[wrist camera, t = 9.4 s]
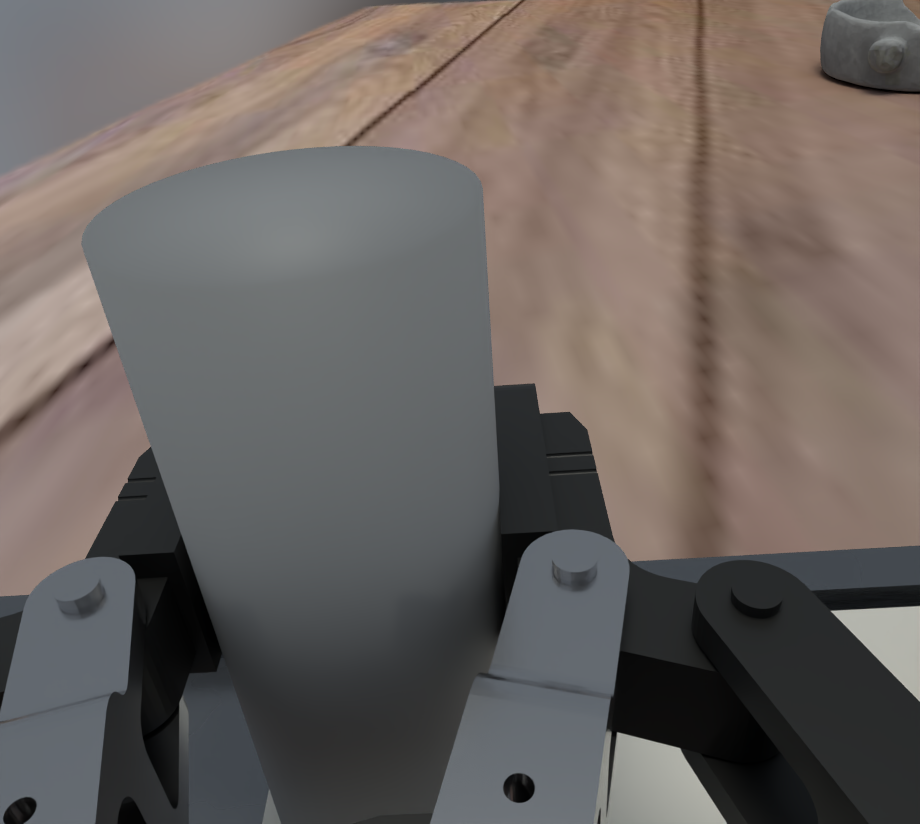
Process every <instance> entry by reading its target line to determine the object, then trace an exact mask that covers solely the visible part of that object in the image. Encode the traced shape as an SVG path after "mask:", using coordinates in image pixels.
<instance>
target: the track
mask: <svg viewBox="0 0 920 824" xmlns="http://www.w3.org/2000/svg"><path fill="white" fill-rule="evenodd" d="M734 560H753V561H760V562H764V563H768V564H771V565H774V566H777V567H779V568H781V569H783V570H785V571H787V572H789V573H791V574H792V575H794V576H795V577H797V578H798V579H799V580H800V581H801V582H802V583H804V584H805V585H806V586H807V587H808V588H809V589H810V590H811V591H812V592H813V593H814V594H815V595H816V597H817V598H818V599H819V600H820V601H821V602H822V603H823V604H824V605H825V606H826V607H827V608H828V609H829V610H830V611H838V610H856V609H875V608H894V607H913V606H920V546H906V547H888V548H870V549H852V550H834V551H816V552H797V553H779V554H761V555H743V556H725V557H707V558H689V559H671V560H653V561H635V562H632V563H634V564H635V565H637V566H638V567H640V568H642V569H644V570H646V571H648V572H651V573H653V574H656V575H659V576H663V577H667V578H672V579H677V580H683V581H688V582H693V583H698V581H699V579H700V578H701V576H702V575H703V574H704V573H705V572H706V571H707V570H709V569H710V568H712V567H713V566H716V565H718V564H720V563H724V562H728V561H734ZM28 597H29V595H20V596H2V597H0V618H1V617H4V616H8V615H11V614H15V613H17V612H20V611H23V609H24V606H25V603H26V600H27V599H28ZM183 696H184V698H185V701H186V703H187V706H188V713H189V824H262V822H263V817H264V812H265V807H266V802H267V797H268V792H269V787H268V784H267V781H266V778H265V775H264V773H263V770H262V767H261V764H260V761H259V758H258V755H257V752H256V749H255V746H254V744H253V741H252V738H251V735H250V732H249V729H248V726H247V723H246V720H245V717H244V715H243V712H242V709H241V706H240V703H239V700H238V697H237V694H236V691H235V688H234V686H233V683H232V680H231V677H230V674H229V671H228V668H227V665H226V662H225V659H224V657H223V654H222V655H221V659H220V662H219V666H218V669H217V672H208V673H189V676H188V679H187V682H186V686H185V689H184V692H183Z"/></svg>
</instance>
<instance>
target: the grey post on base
mask: <svg viewBox="0 0 920 824" xmlns="http://www.w3.org/2000/svg"><path fill="white" fill-rule="evenodd" d="M81 244H82V247H83V251H84V254H85V257H86V260H87V262H88V265H89V268H90V271H91V274H92V277H93V280H94V283H95V286H96V289H97V291H98V294H99V297H100V300H101V303H102V306H103V309H104V312H105V315H106V318H107V320H108V323H109V326H110V329H111V332H112V335H113V338H114V341H115V344H116V346H117V349H118V352H119V355H120V358H121V361H122V364H123V367H124V370H125V373H126V375H127V378H128V381H129V384H130V387H131V390H132V393H133V396H134V399H135V402H136V404H137V407H138V410H139V413H140V416H141V419H142V422H143V425H144V428H145V431H146V433H147V436H148V439H149V442H150V445H151V448H152V451H153V454H154V457H155V460H156V462H157V465H158V468H159V471H160V474H161V477H162V480H163V483H164V486H165V488H166V491H167V494H168V497H169V500H170V503H171V506H172V509H173V512H174V515H175V517H176V520H177V523H178V526H179V529H180V532H181V535H182V538H183V541H184V544H185V546H186V549H187V552H188V555H189V558H190V561H191V564H192V567H193V570H194V573H195V575H196V578H197V581H198V584H199V587H200V590H201V593H202V596H203V599H204V602H205V604H206V607H207V610H208V613H209V616H210V619H211V622H212V625H213V628H214V630H215V633H216V636H217V639H218V642H219V645H220V648H221V651H222V654H223V657H224V659H225V662H226V665H227V668H228V671H229V674H230V677H231V680H232V683H233V686H234V688H235V691H236V694H237V697H238V700H239V703H240V706H241V709H242V712H243V715H244V717H245V720H246V723H247V726H248V729H249V732H250V735H251V738H252V741H253V744H254V746H255V749H256V752H257V755H258V758H259V761H260V764H261V767H262V770H263V773H264V775H265V778H266V781H267V784H268V787H269V792H268V797H267V802H266V807H265V812H264V817H263V822H262V824H353V823H356V822H360V821H363V820H366V819H370V818H373V817H376V816H380V815H401V814H422V813H433V812H434V809H435V805H436V802H437V799H438V795H439V792H440V789H441V785H442V782H443V779H444V776H445V772H446V769H447V766H448V762H449V759H450V756H451V752H452V749H453V746H454V742H455V739H456V736H457V732H458V729H459V726H460V722H461V719H462V716H463V712H464V709H465V706H466V702H467V699H468V696H469V693H470V690H471V686H472V684H473V682H474V679H475V677H476V676H477V674H478V673H480V672H482V673H488V671H489V669H490V666H491V663H492V659H493V656H494V652H495V649H496V645H497V642H498V638H499V635H500V631H501V628H502V624H503V621H504V617H505V600H504V582H503V565H502V547H501V530H500V513H499V489H500V488H499V470H498V452H497V435H496V417H495V399H494V381H493V363H492V346H491V328H490V310H489V292H488V274H487V257H486V239H485V221H484V203H483V188H482V185H481V181H480V180H479V178H478V177H477V176H476V174H475V173H474V172H472V171H471V170H470V169H468V168H467V167H466V166H464V165H462V164H460V163H458V162H456V161H453V160H451V159H448V158H445V157H442V156H438V155H435V154H431V153H426V152H421V151H416V150H409V149H401V148H390V147H375V146H335V147H317V148H305V149H294V150H286V151H278V152H271V153H265V154H259V155H252V156H247V157H242V158H237V159H232V160H227V161H223V162H219V163H215V164H210V165H206V166H203V167H199V168H196V169H192V170H188V171H185V172H182V173H179V174H176V175H173V176H170V177H167V178H165V179H162V180H159V181H157V182H154V183H151V184H149V185H147V186H145V187H142V188H140V189H138V190H136V191H133V192H132V193H130V194H128V195H126V196H124V197H122V198H120V199H118V200H117V201H115V202H114V203H112V204H111V205H109V206H108V207H106V208H105V209H104V210H102V211H101V212H100V213H99V214H98V215H96V216H95V217H94V218H93V220H92V221H91V222H90V223H89V224H88V225H87V227H86V229H85V231H84V233H83V236H82V243H81ZM831 612H832V613H833V614H834V615H835V616H836V617H837V618H838V619H839V620H840V621H841V622H842V623H843V624H844V625H845V626H846V627H847V628H848V629H849V630H850V631H851V632H852V633H853V634H854V635H855V636H856V637H857V638H858V639H859V640H860V641H861V642H862V643H863V644H864V645H865V646H866V647H867V648H868V649H869V650H870V651H871V653H872V654H873V655H874V656H875V657H876V658H877V659H878V660H879V661H880V662H881V663H882V664H883V665H884V666H885V667H886V668H887V669H888V670H889V671H890V672H891V673H892V674H893V675H894V676H895V677H896V678H897V679H898V680H899V681H900V682H901V683H902V684H903V685H904V686H905V687H906V688H907V689H908V690H909V691H910V692H911V693H912V694H913V695H914V696H915V697H916V698H917V699H918V700H919V701H920V606H913V607H894V608H875V609H856V610H838V611H831ZM608 824H727V823H726V821H725V819H724V818H723V816H722V815H721V813H720V812H719V810H718V809H717V807H716V805H715V804H714V802H713V801H712V799H711V798H710V796H709V795H708V793H707V792H706V790H705V788H704V787H703V785H702V784H701V782H700V781H699V779H698V778H697V776H696V774H695V773H694V771H693V770H692V768H691V767H690V765H689V764H688V762H687V761H686V759H685V757H684V755H683V753H682V751H681V749H680V748H677V747H673V746H669V745H665V744H662V743H658V742H654V741H650V740H646V739H642V738H638V737H634V736H630V735H626V734H622V733H618V742H617V750H616V758H615V767H614V775H613V784H612V792H611V801H610V809H609V817H608Z"/></svg>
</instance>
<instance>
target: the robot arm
mask: <svg viewBox="0 0 920 824" xmlns="http://www.w3.org/2000/svg"><path fill="white" fill-rule="evenodd" d="M494 399H495V417H496V435H497V452H498V470H499V488H500V489H499V513H500V530H501V547H502V565H503V582H504V600H505V617H504V621H503V624H502V628H501V631H500V635H499V638H498V642H497V645H496V649H495V652H494V656H493V659H492V663H491V666H490V669H489V671H488V673H482V672H480V673H478V674H477V676H476V677H475V679H474V682H473V684H472V686H471V690H470V693H469V696H468V699H467V702H466V706H465V709H464V712H463V716H462V719H461V722H460V726H459V729H458V732H457V736H456V739H455V742H454V746H453V749H452V752H451V756H450V759H449V762H448V766H447V769H446V772H445V776H444V779H443V782H442V785H441V789H440V792H439V795H438V799H437V802H436V805H435V809H434V812H433V813H422V814H401V815H380V816H376V817H373V818H370V819H366V820H363V821H360V822H356V823H353V824H608V817H609V809H610V801H611V792H612V784H613V775H614V767H615V758H616V750H617V742H618V733H622V734H626V735H630V736H634V737H638V738H642V739H646V740H650V741H654V742H658V743H662V744H665V745H669V746H673V747H677V748H680V749H681V751H682V753H683V755H684V757H685V759H686V761H687V762H688V764H689V765H690V767H691V768H692V770H693V771H694V773H695V774H696V776H697V778H698V779H699V781H700V782H701V784H702V785H703V787H704V788H705V790H706V792H707V793H708V795H709V796H710V798H711V799H712V801H713V802H714V804H715V805H716V807H717V809H718V810H719V812H720V813H721V815H722V816H723V818H724V819H725V821H726V823H727V824H920V701H919V700H918V699H917V698H916V697H915V696H914V695H913V694H912V693H911V692H910V691H909V690H908V689H907V688H906V687H905V686H904V685H903V684H902V683H901V682H900V681H899V680H898V679H897V678H896V677H895V676H894V675H893V674H892V673H891V672H890V671H889V670H888V669H887V668H886V667H885V666H884V665H883V664H882V663H881V662H880V661H879V660H878V659H877V658H876V657H875V656H874V655H873V654H872V653H871V651H870V650H869V649H868V648H867V647H866V646H865V645H864V644H863V643H862V642H861V641H860V640H859V639H858V638H857V637H856V636H855V635H854V634H853V633H852V632H851V631H850V630H849V629H848V628H847V627H846V626H845V625H844V624H843V623H842V622H841V621H840V620H839V619H838V618H837V617H836V616H835V615H834V614H833V613H832V612H831V611H830V610H829V609H828V608H827V607H826V606H825V605H824V604H823V603H822V602H821V601H820V600H819V599H818V598H817V597H816V595H815V594H814V593H813V592H812V591H811V590H810V589H809V588H808V587H807V586H806V585H805V584H804V583H802V582H801V581H800V580H799V579H798V578H797V577H795V576H794V575H792V574H791V573H789V572H787V571H785V570H783V569H781V568H779V567H777V566H774V565H771V564H768V563H764V562H760V561H753V560H734V561H728V562H724V563H720V564H718V565H716V566H713V567H712V568H710V569H709V570H707V571H706V572H705V573H704V574H703V575H702V576H701V578H700V579H699V581H698V583H693V582H688V581H683V580H677V579H672V578H667V577H663V576H659V575H656V574H653V573H651V572H648V571H646V570H644V569H642V568H640V567H638V566H637V565H635V564H634V563H632V562H631V561H630V560H628V559H627V557H626V555H625V553H624V552H623V551H622V550H621V548H620V547H619V546H618V545H616V544H615V541H614V538H613V535H612V531H611V527H610V523H609V519H608V514H607V510H606V506H605V502H604V498H603V494H602V490H601V485H600V481H599V477H598V473H597V470H596V465H595V460H594V456H593V455H592V448H591V444H590V440H589V435H588V431H587V429H586V428H585V427H584V426H583V425H582V424H581V423H580V422H579V421H578V420H577V419H576V418H575V417H574V416H573V415H572V414H571V413H570V412H560V413H544V414H540V412H539V406H538V400H537V393H536V387H535V384H518V385H503V386H494ZM221 655H222V651H221V648H220V645H219V642H218V639H217V636H216V633H215V630H214V628H213V625H212V622H211V619H210V616H209V613H208V610H207V607H206V604H205V602H204V599H203V596H202V593H201V590H200V587H199V584H198V581H197V578H196V575H195V573H194V570H193V567H192V564H191V561H190V558H189V555H188V552H187V549H186V546H185V544H184V541H183V538H182V535H181V532H180V529H179V526H178V523H177V520H176V517H175V515H174V512H173V509H172V506H171V503H170V500H169V497H168V494H167V491H166V488H165V486H164V483H163V480H162V477H161V474H160V471H159V468H158V465H157V462H156V460H155V457H154V454H153V451H152V448H151V447H150V448H149V449H148V450H147V451H146V452H145V453H143V454H142V455H141V456H140V457H139V459H138V460H137V462H136V464H135V466H134V468H133V470H132V472H131V474H130V475H129V477H128V483H125V485H124V487H123V489H122V490H121V492H120V494H119V496H118V501H116V502H115V504H114V505H113V507H112V509H111V511H110V513H109V515H108V517H107V519H106V520H105V522H104V524H103V526H102V528H101V530H100V532H99V534H98V535H97V537H96V539H95V541H94V543H93V545H92V547H91V549H90V550H89V552H88V554H87V556H86V558H85V559H84V560H80V561H77V562H74V563H71V564H69V565H66V566H64V567H62V568H61V569H59V570H57V571H55V572H54V573H52V574H50V575H49V576H48V577H46V578H45V579H44V580H43V581H41V582H40V583H39V584H38V585H37V586H36V587H35V589H34V590H33V591H32V592H31V594H30V595H29V597H28V599H27V600H26V603H25V606H24V609H23V611H20V612H17V613H15V614H11V615H8V616H4V617H1V618H0V824H189V713H188V706H187V703H186V701H185V698H184V696H183V692H184V689H185V686H186V682H187V679H188V676H189V673H208V672H217V669H218V666H219V662H220V659H221Z"/></svg>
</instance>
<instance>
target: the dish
mask: <svg viewBox="0 0 920 824" xmlns="http://www.w3.org/2000/svg"><path fill="white" fill-rule="evenodd" d="M820 53H821V66H822V69H823V70H824V72H825V73H827V74H828V75H829V76H831V77H834V78H836V79H839V80H843V81H846V82H850V83H853V84H857V85H861V86H866V87H871V88H878V89H886V90H895V91H916V92H920V20H919V19H918V18H917V17H916V16H915V15H914V13H912V12H911V11H910V10H909V9H908V8H907V7H906V6H905V5H904V3H903V0H841V1H839V2H837V3H834V4H832V5H831V6H830V8H829V10H828V13H827V16H826V19H825V22H824V26H823V31H822V38H821V47H820Z"/></svg>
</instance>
